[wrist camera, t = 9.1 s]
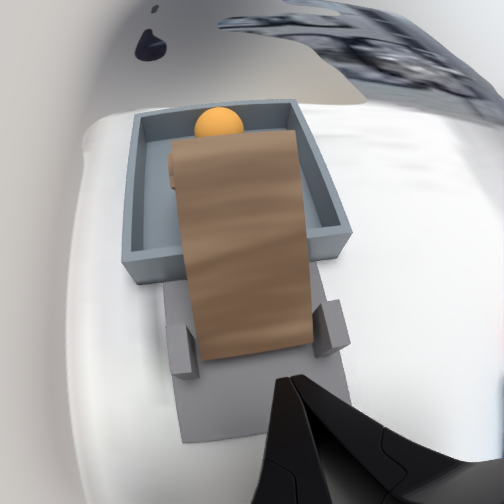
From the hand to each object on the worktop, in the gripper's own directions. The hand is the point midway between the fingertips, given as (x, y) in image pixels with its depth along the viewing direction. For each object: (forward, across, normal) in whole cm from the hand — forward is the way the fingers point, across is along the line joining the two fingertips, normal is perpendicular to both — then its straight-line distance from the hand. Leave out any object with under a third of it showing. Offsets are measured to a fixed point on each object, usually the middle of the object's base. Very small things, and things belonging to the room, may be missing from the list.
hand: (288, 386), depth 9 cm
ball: (+19, 0, -9) cm, 21 cm away
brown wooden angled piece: (+10, 0, +4) cm, 11 cm away
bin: (+18, 0, -4) cm, 18 cm away
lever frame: (+9, 0, +5) cm, 10 cm away
